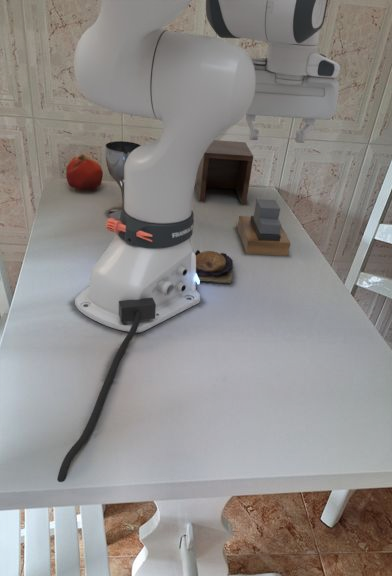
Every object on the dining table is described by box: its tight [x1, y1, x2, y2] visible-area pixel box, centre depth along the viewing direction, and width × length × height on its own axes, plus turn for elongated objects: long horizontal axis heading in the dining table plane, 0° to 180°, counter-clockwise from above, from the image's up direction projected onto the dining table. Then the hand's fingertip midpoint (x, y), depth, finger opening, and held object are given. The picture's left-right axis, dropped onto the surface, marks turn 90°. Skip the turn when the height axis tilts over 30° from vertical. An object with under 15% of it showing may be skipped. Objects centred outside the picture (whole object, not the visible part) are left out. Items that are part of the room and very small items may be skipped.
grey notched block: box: [250, 198, 282, 241], centre depth 104 cm, size 10×5×6 cm, turn 5°
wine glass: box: [104, 140, 141, 221], centre depth 108 cm, size 8×8×15 cm
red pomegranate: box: [65, 153, 104, 191], centre depth 121 cm, size 9×9×8 cm
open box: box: [195, 139, 254, 205], centre depth 125 cm, size 12×12×12 cm
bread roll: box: [195, 249, 234, 284], centre depth 94 cm, size 11×8×4 cm
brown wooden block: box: [236, 215, 291, 257], centre depth 107 cm, size 13×9×3 cm
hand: (276, 140), depth 97 cm, fingers open, 8 cm apart
